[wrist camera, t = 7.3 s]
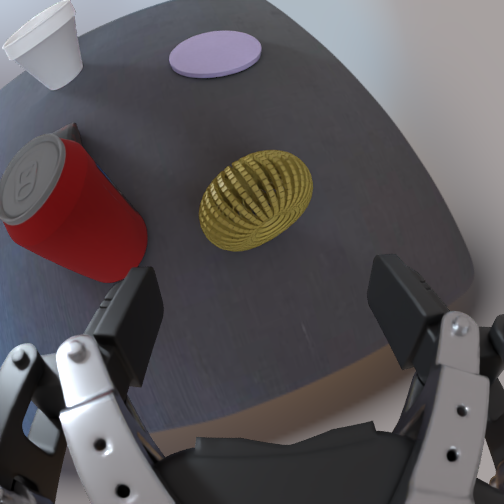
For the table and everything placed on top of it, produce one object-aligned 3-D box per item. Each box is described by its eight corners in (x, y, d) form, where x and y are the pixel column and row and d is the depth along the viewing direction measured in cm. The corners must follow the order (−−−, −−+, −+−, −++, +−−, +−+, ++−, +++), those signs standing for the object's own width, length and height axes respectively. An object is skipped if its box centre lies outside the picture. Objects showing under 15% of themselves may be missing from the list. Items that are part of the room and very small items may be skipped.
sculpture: (284, 184, 23) (295, 119, 15) (312, 221, 22) (338, 165, 14) (200, 230, 22) (174, 177, 14) (226, 273, 21) (208, 237, 13)
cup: (93, 78, 29) (60, 11, 16) (31, 114, 29) (-10, 60, 15) (100, 46, 33) (76, -9, 20) (45, 76, 32) (16, 29, 19)
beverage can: (144, 199, 23) (77, 105, 11) (159, 270, 21) (71, 202, 9) (82, 225, 22) (-2, 157, 11) (90, 295, 20) (-16, 254, 9)
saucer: (258, 33, 31) (258, 28, 30) (264, 76, 27) (265, 70, 26) (177, 41, 31) (176, 36, 30) (163, 86, 27) (161, 80, 27)
